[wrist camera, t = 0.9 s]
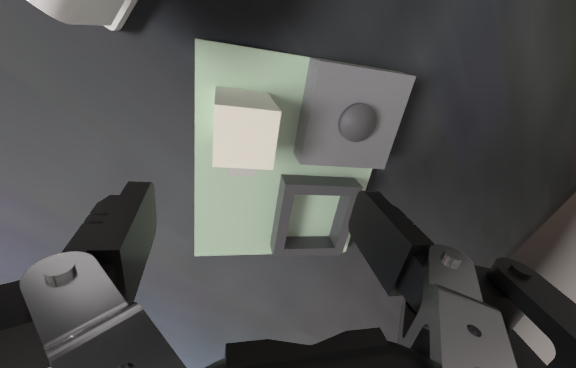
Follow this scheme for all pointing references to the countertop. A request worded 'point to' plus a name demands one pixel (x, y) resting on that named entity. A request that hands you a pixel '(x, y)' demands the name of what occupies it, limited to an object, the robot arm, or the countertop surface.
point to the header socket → (312, 186)
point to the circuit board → (290, 140)
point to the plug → (244, 131)
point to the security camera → (88, 11)
